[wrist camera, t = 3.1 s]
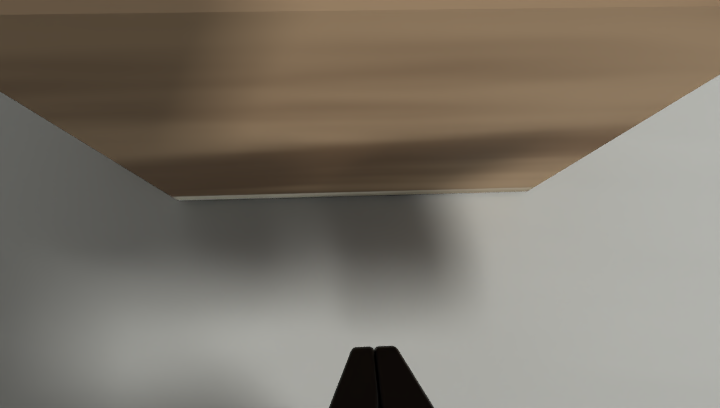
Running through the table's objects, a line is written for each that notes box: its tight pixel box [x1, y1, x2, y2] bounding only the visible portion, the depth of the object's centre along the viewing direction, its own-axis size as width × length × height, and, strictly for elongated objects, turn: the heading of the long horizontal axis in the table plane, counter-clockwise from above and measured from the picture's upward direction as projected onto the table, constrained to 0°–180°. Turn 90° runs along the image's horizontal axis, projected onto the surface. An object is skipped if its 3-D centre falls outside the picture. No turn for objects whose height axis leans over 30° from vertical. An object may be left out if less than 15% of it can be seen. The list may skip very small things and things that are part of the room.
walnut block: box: [0, 0, 720, 200], centre depth 12 cm, size 4×12×11 cm, turn 92°
